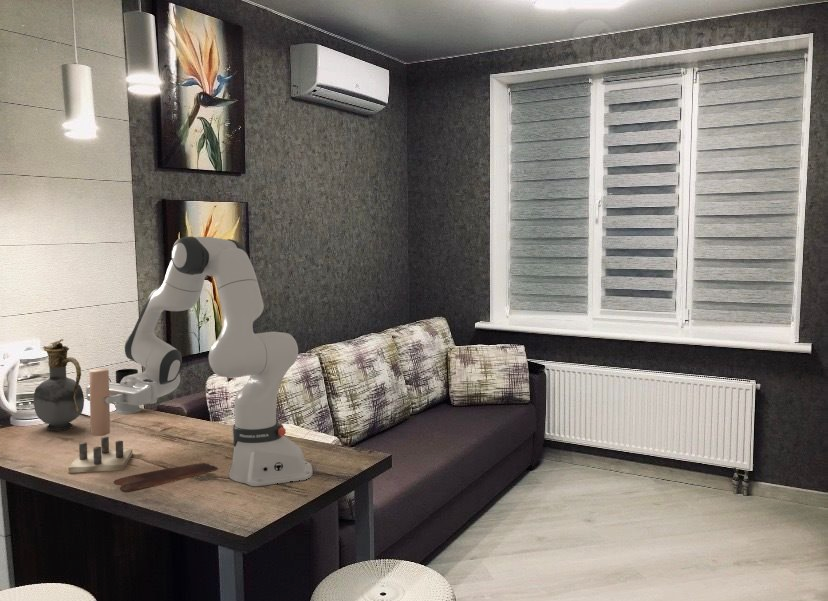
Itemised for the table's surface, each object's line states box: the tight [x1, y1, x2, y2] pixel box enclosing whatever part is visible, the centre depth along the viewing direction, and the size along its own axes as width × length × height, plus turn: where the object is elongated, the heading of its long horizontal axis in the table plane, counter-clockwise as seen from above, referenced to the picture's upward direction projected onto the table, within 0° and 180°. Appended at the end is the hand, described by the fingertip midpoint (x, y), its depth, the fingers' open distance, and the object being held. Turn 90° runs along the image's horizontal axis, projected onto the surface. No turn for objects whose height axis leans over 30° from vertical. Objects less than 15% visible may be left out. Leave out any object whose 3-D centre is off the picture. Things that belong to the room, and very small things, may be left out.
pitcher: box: [33, 338, 85, 432], centre depth 228 cm, size 11×19×30 cm, turn 61°
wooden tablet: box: [113, 462, 219, 493], centre depth 187 cm, size 26×2×10 cm
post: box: [88, 368, 111, 437], centre depth 195 cm, size 5×5×18 cm
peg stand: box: [68, 436, 133, 474], centre depth 196 cm, size 14×14×6 cm
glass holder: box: [109, 368, 142, 415], centre depth 250 cm, size 9×14×15 cm, turn 119°
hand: (97, 399), depth 194 cm, fingers closed on post, 5 cm apart
